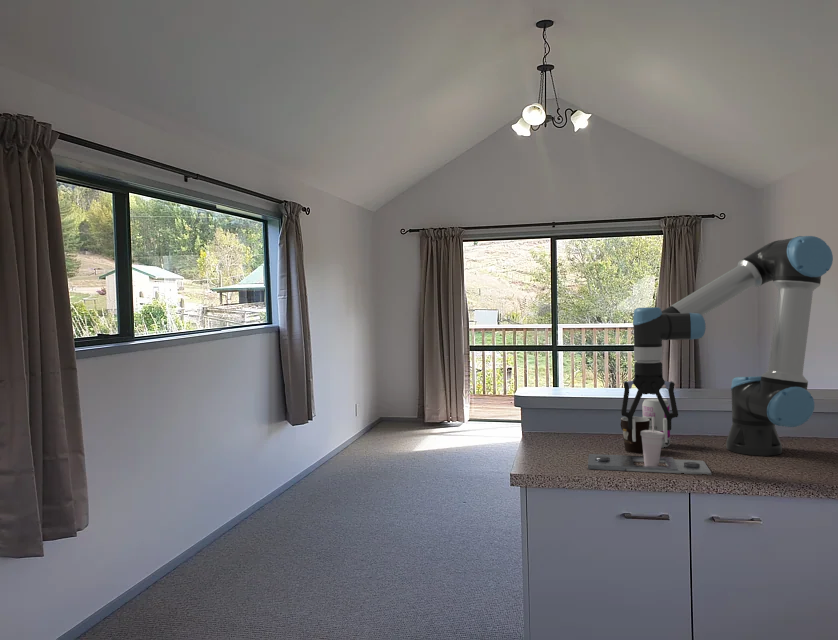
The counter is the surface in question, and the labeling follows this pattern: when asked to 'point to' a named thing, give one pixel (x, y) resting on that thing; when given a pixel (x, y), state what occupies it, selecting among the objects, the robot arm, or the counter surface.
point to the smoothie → (651, 445)
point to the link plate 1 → (625, 463)
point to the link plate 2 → (681, 467)
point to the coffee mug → (640, 425)
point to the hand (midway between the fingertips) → (649, 441)
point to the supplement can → (656, 416)
